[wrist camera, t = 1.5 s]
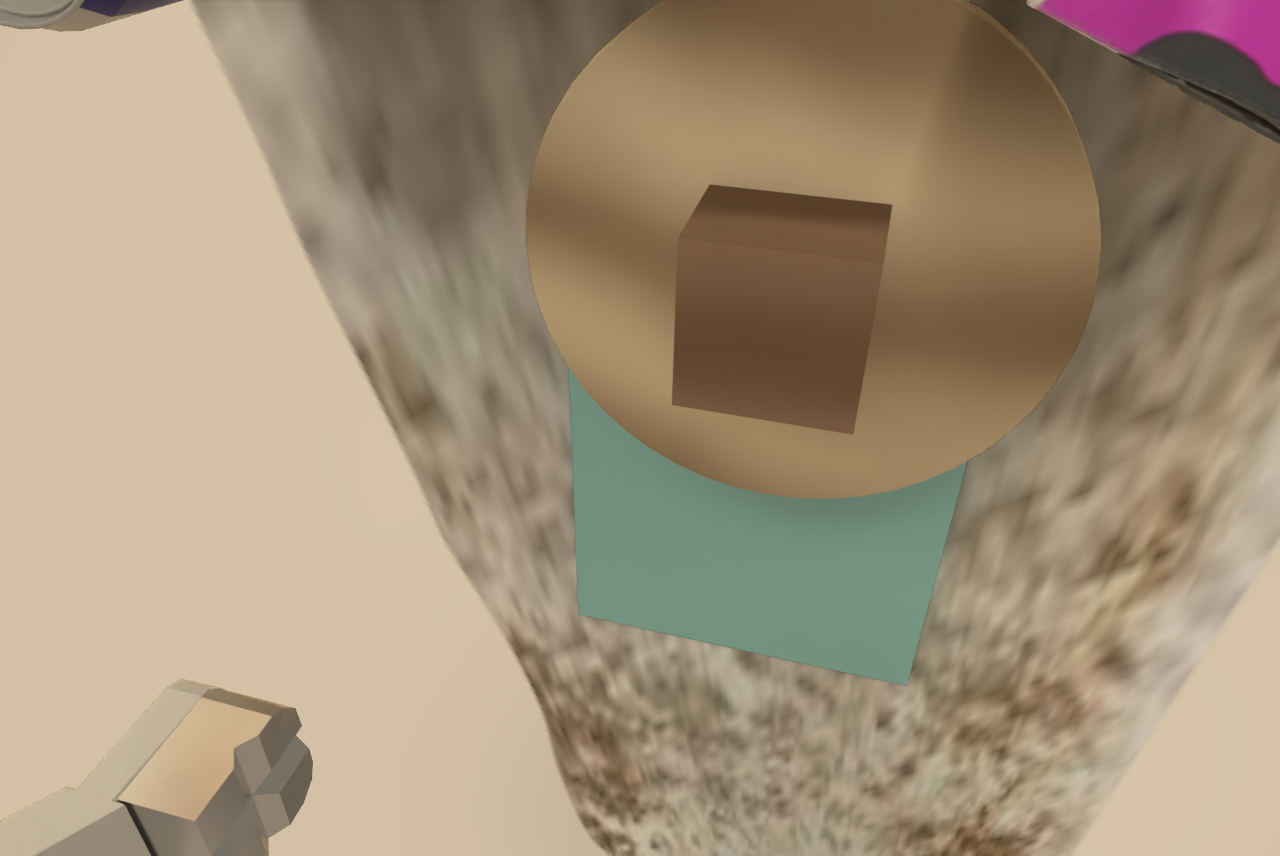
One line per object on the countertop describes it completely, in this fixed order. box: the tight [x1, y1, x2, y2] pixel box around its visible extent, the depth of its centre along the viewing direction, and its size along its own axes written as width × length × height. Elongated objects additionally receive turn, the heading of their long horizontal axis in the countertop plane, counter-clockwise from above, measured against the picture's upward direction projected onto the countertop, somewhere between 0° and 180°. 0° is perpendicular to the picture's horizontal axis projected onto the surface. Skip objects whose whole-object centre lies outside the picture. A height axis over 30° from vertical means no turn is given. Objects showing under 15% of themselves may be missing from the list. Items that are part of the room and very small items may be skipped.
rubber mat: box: [568, 367, 967, 686], centre depth 34 cm, size 14×14×1 cm
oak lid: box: [526, 0, 1102, 499], centre depth 21 cm, size 13×13×4 cm
